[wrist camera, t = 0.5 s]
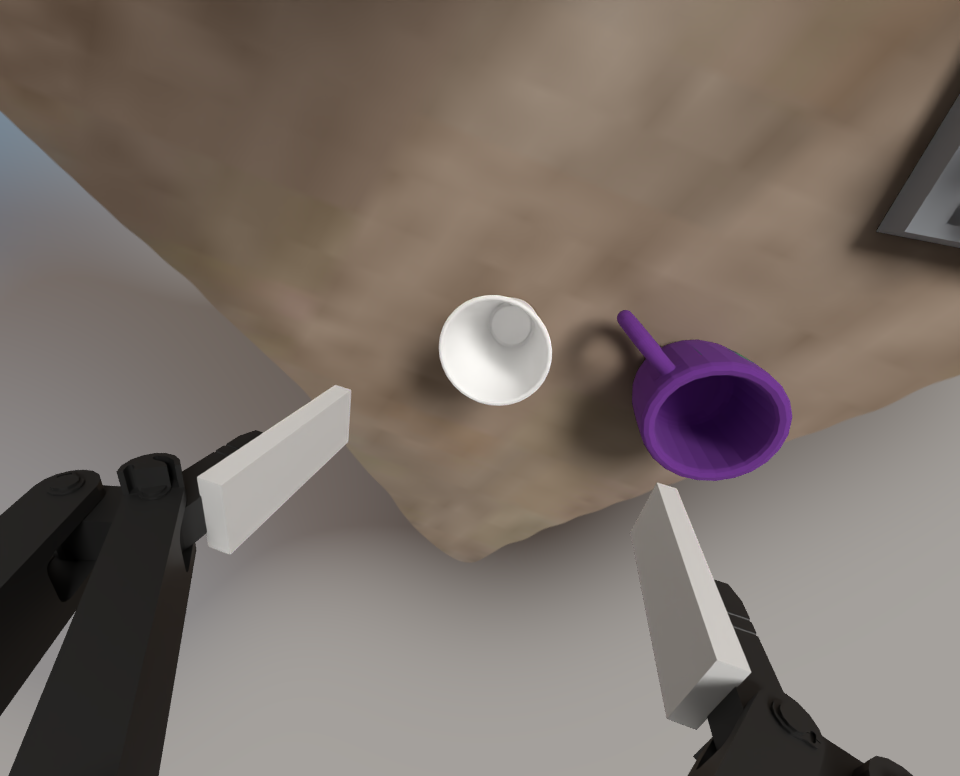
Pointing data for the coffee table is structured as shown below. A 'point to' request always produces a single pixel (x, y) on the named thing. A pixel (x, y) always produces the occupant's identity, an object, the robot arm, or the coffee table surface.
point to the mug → (705, 407)
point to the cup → (495, 350)
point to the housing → (931, 190)
